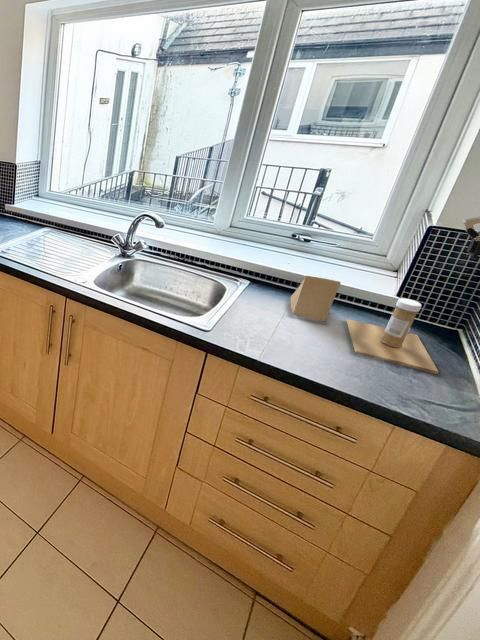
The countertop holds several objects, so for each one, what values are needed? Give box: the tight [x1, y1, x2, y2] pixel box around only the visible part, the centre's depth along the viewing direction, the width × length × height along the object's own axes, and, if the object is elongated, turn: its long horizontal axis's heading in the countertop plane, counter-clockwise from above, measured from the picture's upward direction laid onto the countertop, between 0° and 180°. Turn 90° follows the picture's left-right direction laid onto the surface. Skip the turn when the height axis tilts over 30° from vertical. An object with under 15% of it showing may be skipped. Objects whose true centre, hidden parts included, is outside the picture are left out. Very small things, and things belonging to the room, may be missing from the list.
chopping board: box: [345, 318, 439, 375], centre depth 119 cm, size 16×22×2 cm
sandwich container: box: [290, 275, 341, 322], centre depth 136 cm, size 9×15×15 cm, turn 148°
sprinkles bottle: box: [380, 298, 422, 348], centre depth 115 cm, size 5×5×13 cm
